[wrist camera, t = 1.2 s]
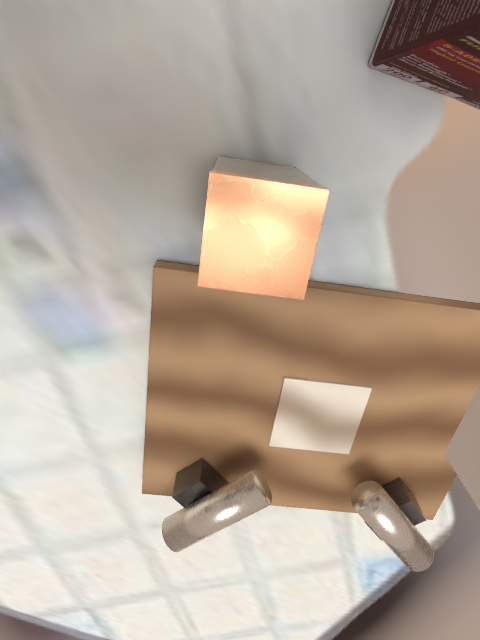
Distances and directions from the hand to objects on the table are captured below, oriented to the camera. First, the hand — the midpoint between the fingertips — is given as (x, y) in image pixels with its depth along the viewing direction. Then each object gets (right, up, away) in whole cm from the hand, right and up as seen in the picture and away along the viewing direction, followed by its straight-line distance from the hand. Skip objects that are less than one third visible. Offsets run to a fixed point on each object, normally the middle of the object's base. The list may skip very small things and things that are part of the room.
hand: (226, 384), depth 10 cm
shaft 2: (+13, -14, +27) cm, 33 cm away
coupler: (+1, +10, +17) cm, 19 cm away
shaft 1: (-2, -12, +25) cm, 28 cm away
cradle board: (+7, -6, +24) cm, 26 cm away
